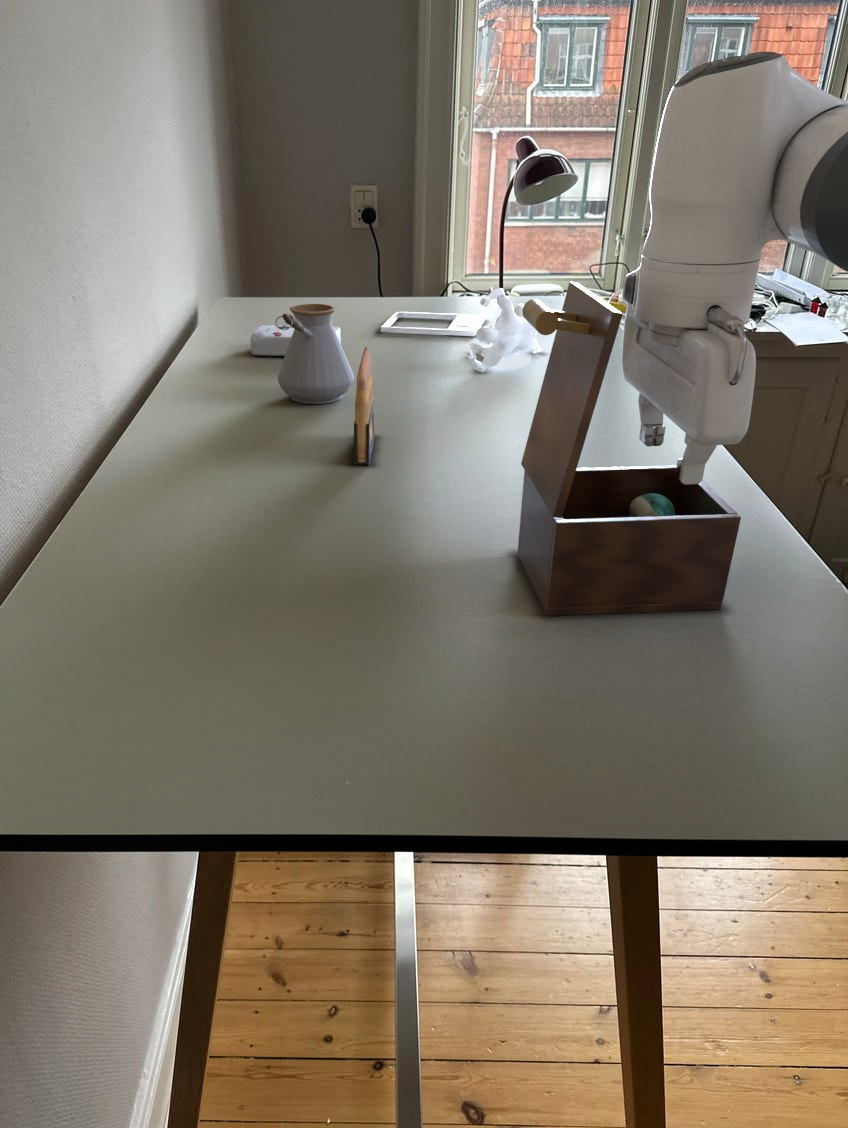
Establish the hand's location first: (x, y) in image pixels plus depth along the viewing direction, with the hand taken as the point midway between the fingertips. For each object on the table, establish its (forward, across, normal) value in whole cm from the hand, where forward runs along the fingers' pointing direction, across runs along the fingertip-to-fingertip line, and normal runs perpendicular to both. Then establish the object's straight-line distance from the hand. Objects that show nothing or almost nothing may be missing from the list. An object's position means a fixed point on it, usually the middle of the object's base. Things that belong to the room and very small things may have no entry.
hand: (668, 461), depth 80 cm
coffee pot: (+11, +58, +32) cm, 67 cm away
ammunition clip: (+11, +38, +25) cm, 47 cm away
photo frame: (+11, +109, +7) cm, 110 cm away
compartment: (+11, 0, +4) cm, 12 cm away
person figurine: (+12, +79, -1) cm, 80 cm away
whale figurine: (+8, +2, +1) cm, 8 cm away
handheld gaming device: (+11, +91, +34) cm, 97 cm away
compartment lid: (-6, 0, +9) cm, 11 cm away
